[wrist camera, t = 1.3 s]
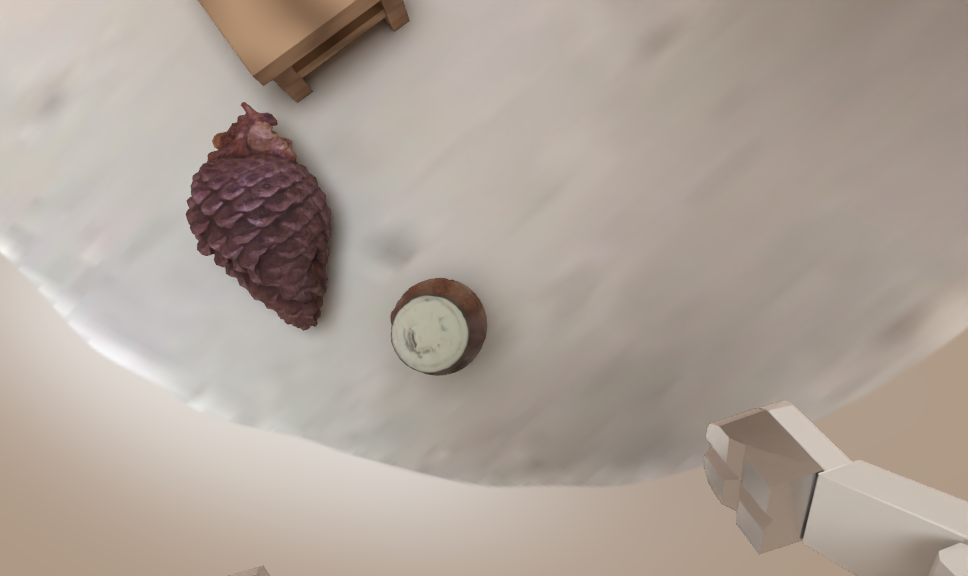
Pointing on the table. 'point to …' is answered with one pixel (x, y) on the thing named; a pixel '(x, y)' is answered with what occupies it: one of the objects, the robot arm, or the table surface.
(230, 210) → the pine cone
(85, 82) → the table surface
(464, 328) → the sauce bottle
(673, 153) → the table surface
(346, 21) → the light brown wooden stool
